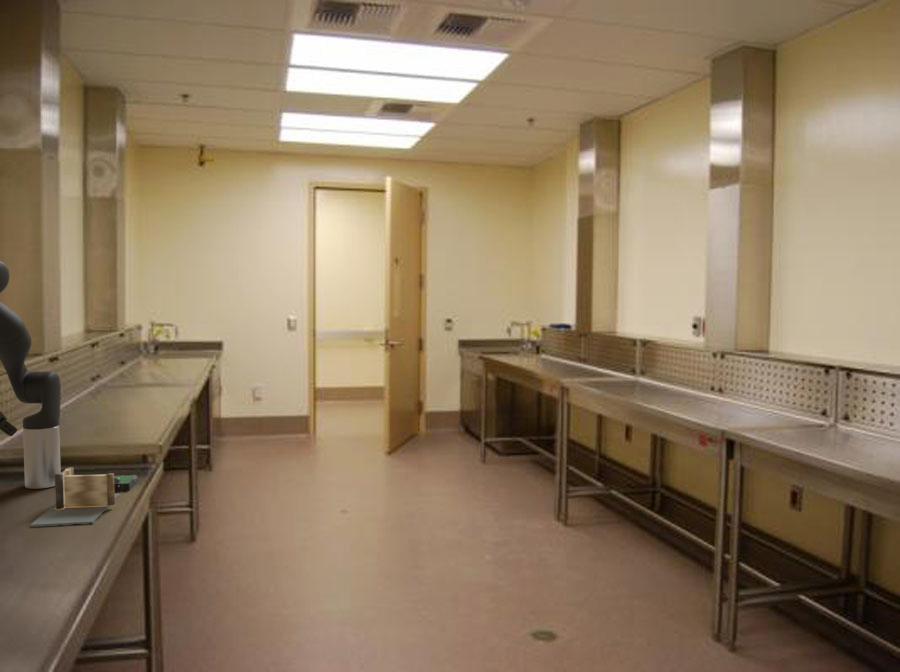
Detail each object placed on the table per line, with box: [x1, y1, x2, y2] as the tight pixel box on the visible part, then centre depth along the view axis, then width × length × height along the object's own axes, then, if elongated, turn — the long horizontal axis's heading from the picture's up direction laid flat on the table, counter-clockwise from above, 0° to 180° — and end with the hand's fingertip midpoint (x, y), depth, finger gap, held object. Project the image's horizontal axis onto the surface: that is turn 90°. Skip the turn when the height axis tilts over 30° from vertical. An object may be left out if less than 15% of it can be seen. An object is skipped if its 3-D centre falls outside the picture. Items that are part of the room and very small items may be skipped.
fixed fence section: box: [54, 466, 75, 509], centre depth 192 cm, size 10×2×10 cm, turn 11°
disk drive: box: [114, 474, 139, 492], centre depth 210 cm, size 10×3×15 cm
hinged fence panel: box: [64, 472, 116, 507], centre depth 189 cm, size 12×2×8 cm, turn 97°
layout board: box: [29, 492, 120, 528], centre depth 189 cm, size 25×14×1 cm, turn 11°
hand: (13, 432), depth 174 cm, fingers closed
